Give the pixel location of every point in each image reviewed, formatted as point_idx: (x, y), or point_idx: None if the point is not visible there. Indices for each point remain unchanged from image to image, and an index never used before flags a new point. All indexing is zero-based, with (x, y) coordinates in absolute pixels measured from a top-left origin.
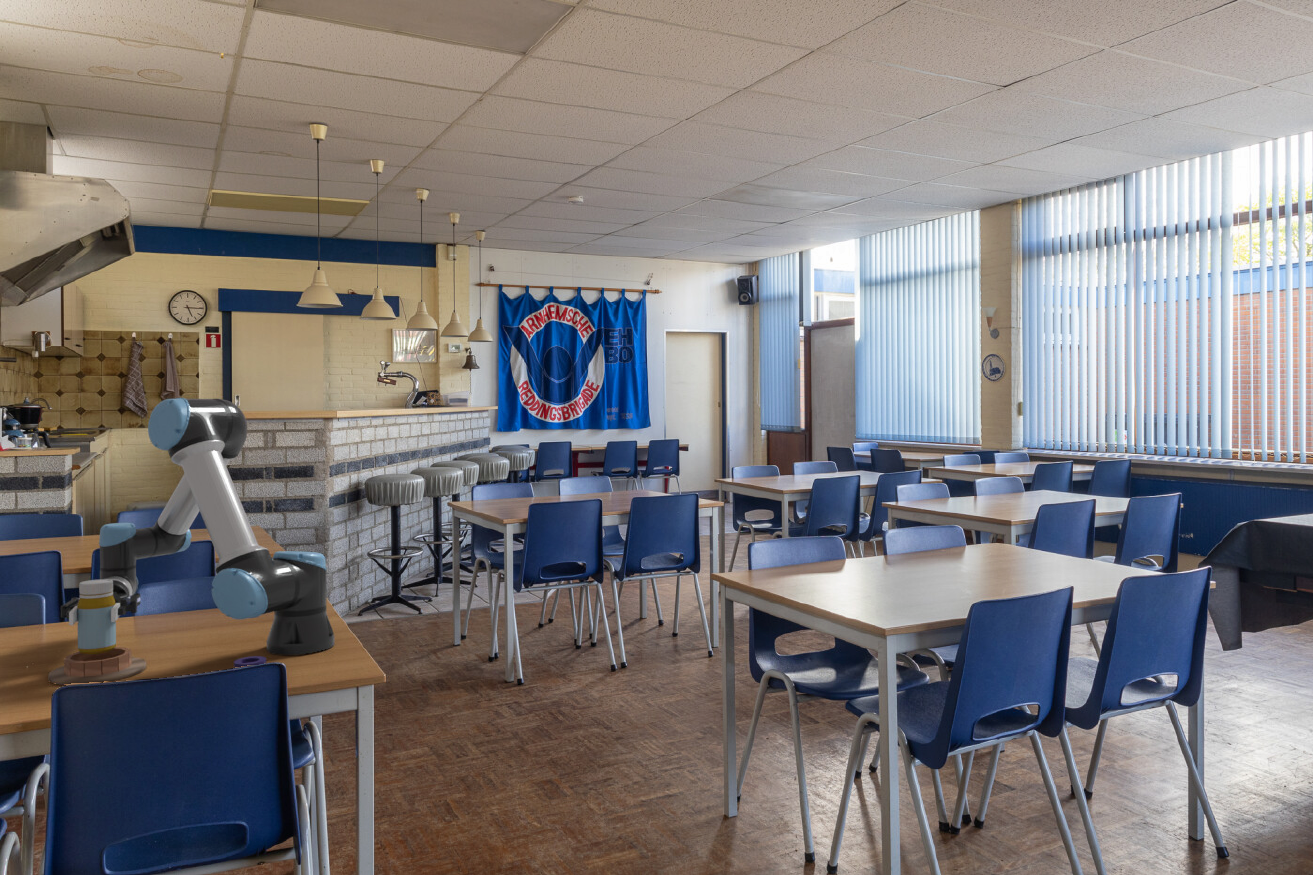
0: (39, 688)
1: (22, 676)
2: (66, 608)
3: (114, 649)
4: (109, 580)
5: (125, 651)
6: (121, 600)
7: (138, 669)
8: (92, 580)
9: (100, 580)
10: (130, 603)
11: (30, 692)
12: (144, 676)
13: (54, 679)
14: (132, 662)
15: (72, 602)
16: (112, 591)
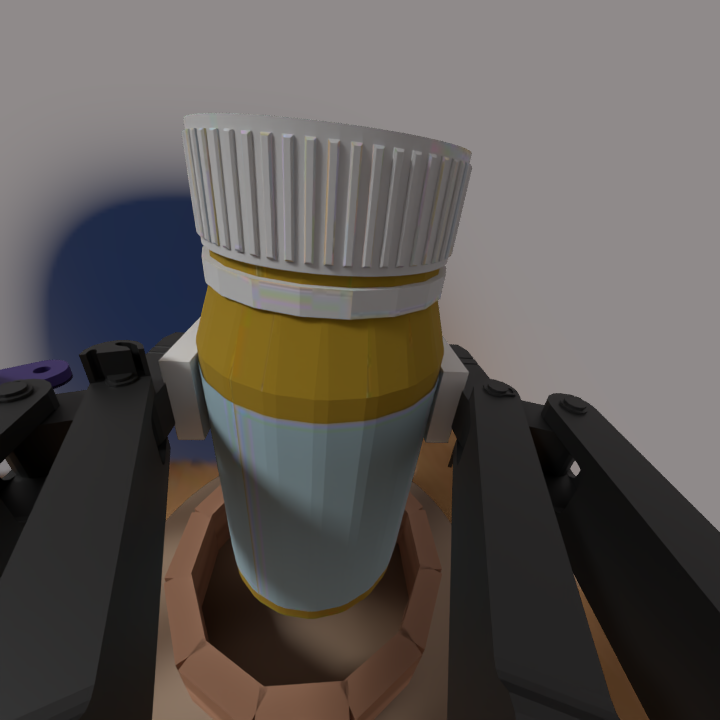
0: (433, 471)
1: (601, 651)
2: (540, 411)
3: (237, 667)
4: (208, 127)
5: (196, 554)
6: (140, 346)
7: (179, 507)
8: (405, 140)
9: (309, 135)
10: (57, 396)
11: (437, 449)
12: (176, 481)
13: (414, 483)
14: (168, 630)
15: (666, 540)
16: (205, 249)
